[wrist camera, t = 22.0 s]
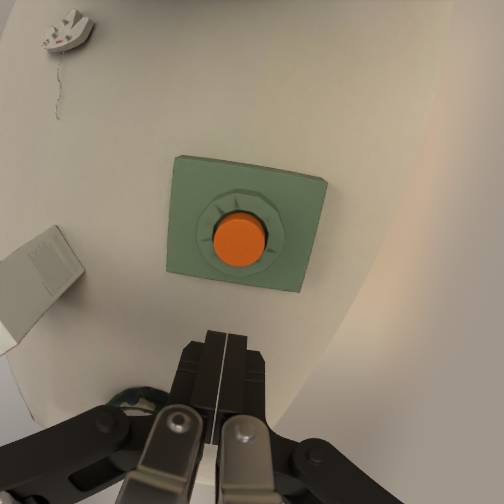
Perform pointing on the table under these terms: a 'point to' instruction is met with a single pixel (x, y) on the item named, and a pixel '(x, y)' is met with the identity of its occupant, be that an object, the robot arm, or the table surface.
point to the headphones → (140, 400)
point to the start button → (239, 240)
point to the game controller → (67, 35)
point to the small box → (33, 283)
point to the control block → (250, 202)
